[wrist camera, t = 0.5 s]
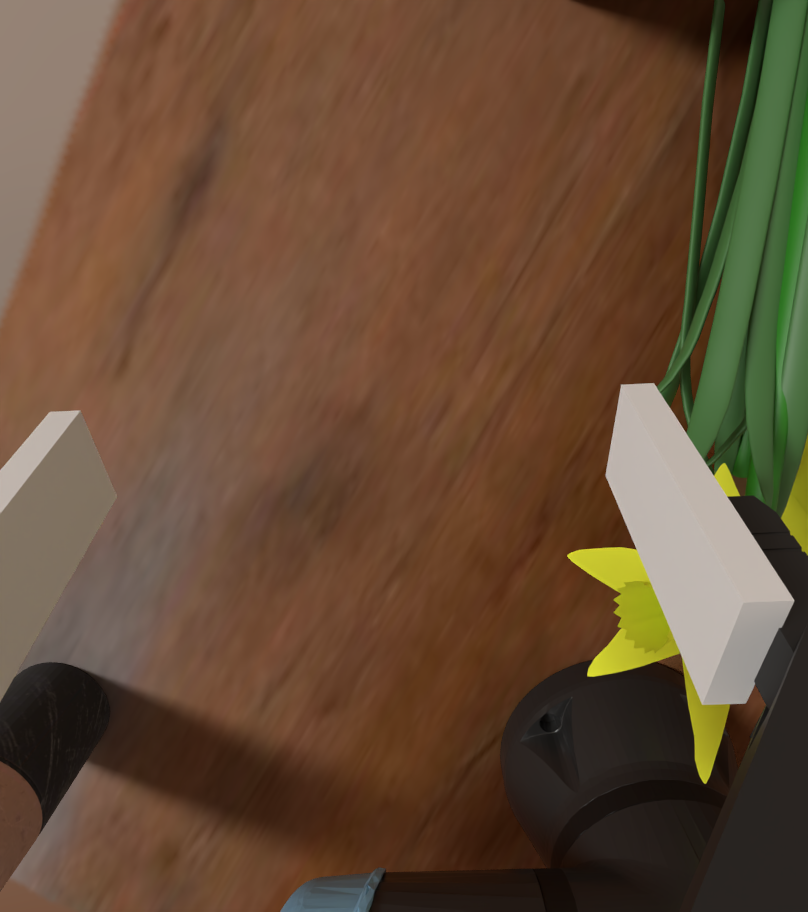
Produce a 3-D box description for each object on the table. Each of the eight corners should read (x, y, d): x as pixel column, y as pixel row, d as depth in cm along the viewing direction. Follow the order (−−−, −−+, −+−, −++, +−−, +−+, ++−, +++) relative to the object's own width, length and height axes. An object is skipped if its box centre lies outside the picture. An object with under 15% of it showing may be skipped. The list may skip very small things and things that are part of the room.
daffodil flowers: (988, 36, 31) (875, 714, 33) (674, 84, 39) (594, 636, 40) (1182, -345, 17) (963, 904, 18) (619, -153, 24) (497, 728, 26)
